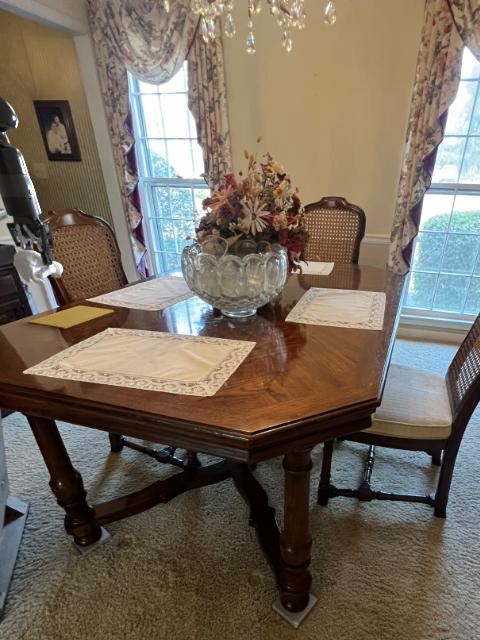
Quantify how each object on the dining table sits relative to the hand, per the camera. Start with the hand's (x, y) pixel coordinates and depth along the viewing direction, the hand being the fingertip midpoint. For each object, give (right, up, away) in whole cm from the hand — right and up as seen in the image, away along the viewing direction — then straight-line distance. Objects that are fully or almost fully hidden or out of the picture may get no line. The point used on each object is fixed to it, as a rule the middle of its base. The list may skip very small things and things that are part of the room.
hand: (40, 264), depth 104 cm
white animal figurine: (0, -4, +2) cm, 5 cm away
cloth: (-5, -9, +23) cm, 25 cm away
